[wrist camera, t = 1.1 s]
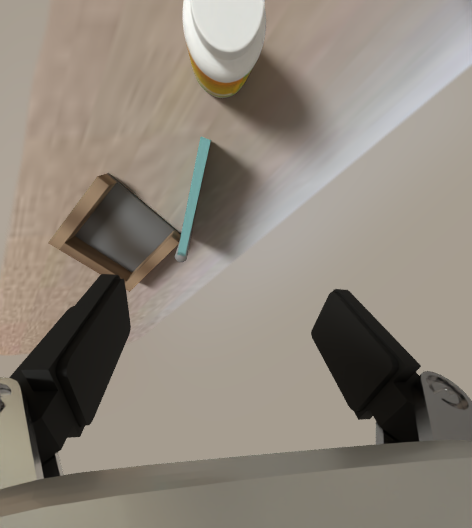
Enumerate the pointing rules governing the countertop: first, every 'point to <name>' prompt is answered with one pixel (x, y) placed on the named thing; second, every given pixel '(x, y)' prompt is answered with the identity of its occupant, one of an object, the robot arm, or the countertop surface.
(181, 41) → the countertop surface
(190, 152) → the countertop surface
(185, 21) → the supplement bottle
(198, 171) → the gate
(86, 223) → the bay
